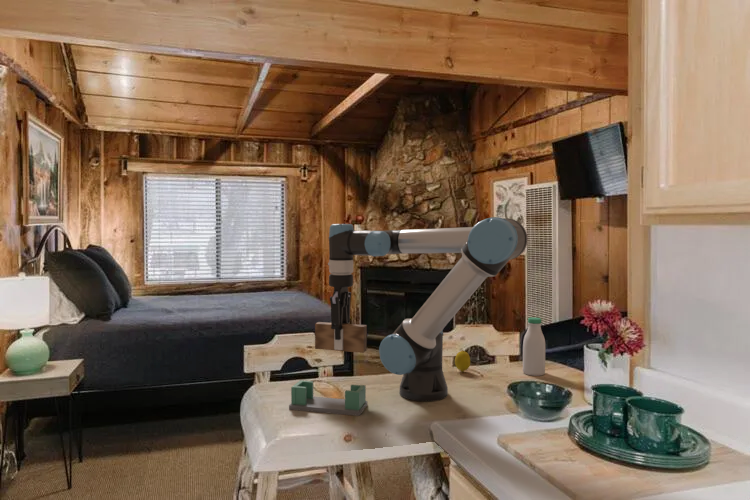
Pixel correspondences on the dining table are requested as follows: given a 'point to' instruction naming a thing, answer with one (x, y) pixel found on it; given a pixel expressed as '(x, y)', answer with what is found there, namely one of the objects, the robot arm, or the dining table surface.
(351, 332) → the slat
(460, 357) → the lemon
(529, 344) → the milk bottle
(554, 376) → the dining table surface
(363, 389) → the cradle
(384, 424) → the dining table surface
